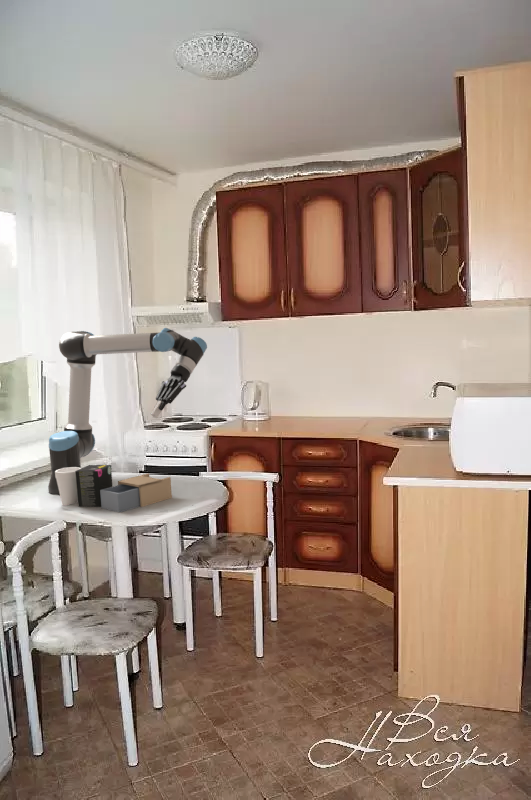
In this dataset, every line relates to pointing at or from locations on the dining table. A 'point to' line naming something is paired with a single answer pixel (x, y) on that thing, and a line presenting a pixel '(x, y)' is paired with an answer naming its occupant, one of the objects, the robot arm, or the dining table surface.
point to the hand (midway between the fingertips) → (153, 415)
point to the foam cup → (67, 485)
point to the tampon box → (92, 484)
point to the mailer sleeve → (150, 488)
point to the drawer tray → (120, 498)
